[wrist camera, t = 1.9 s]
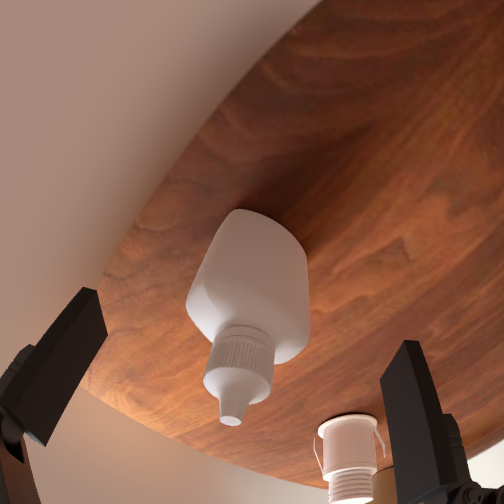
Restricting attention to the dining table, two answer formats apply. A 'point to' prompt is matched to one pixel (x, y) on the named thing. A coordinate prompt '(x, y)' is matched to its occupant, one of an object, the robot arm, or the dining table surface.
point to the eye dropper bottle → (250, 308)
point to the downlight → (349, 457)
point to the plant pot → (384, 487)
